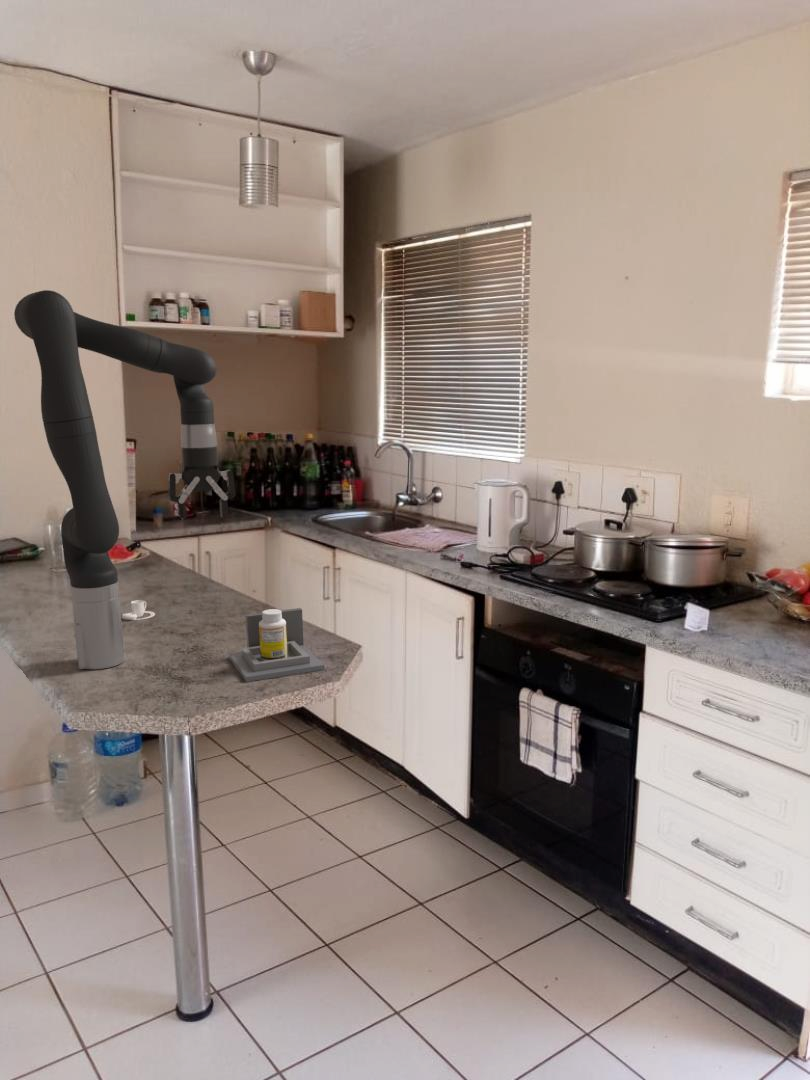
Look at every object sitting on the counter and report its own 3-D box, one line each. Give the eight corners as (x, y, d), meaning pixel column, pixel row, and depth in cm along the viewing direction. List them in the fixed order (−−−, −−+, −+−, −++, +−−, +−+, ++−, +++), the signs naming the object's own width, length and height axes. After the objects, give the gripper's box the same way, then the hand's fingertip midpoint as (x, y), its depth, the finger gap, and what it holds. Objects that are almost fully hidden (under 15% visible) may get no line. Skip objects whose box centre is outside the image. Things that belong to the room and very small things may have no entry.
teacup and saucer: (126, 624, 207) (124, 608, 206) (114, 617, 213) (112, 602, 212) (160, 617, 212) (159, 601, 211) (147, 611, 218) (146, 596, 217)
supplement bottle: (270, 653, 178) (268, 606, 176) (292, 656, 176) (290, 609, 174) (255, 661, 173) (252, 613, 171) (278, 664, 171) (275, 616, 169)
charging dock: (246, 682, 164) (243, 637, 163) (229, 658, 179) (226, 617, 177) (324, 669, 170) (322, 626, 169) (301, 647, 185) (300, 607, 183)
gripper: (168, 447, 177) (173, 523, 180) (235, 444, 183) (239, 518, 186) (163, 445, 184) (168, 518, 187) (228, 442, 189) (232, 513, 193)
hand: (203, 518), depth 186 cm, fingers open, 8 cm apart
